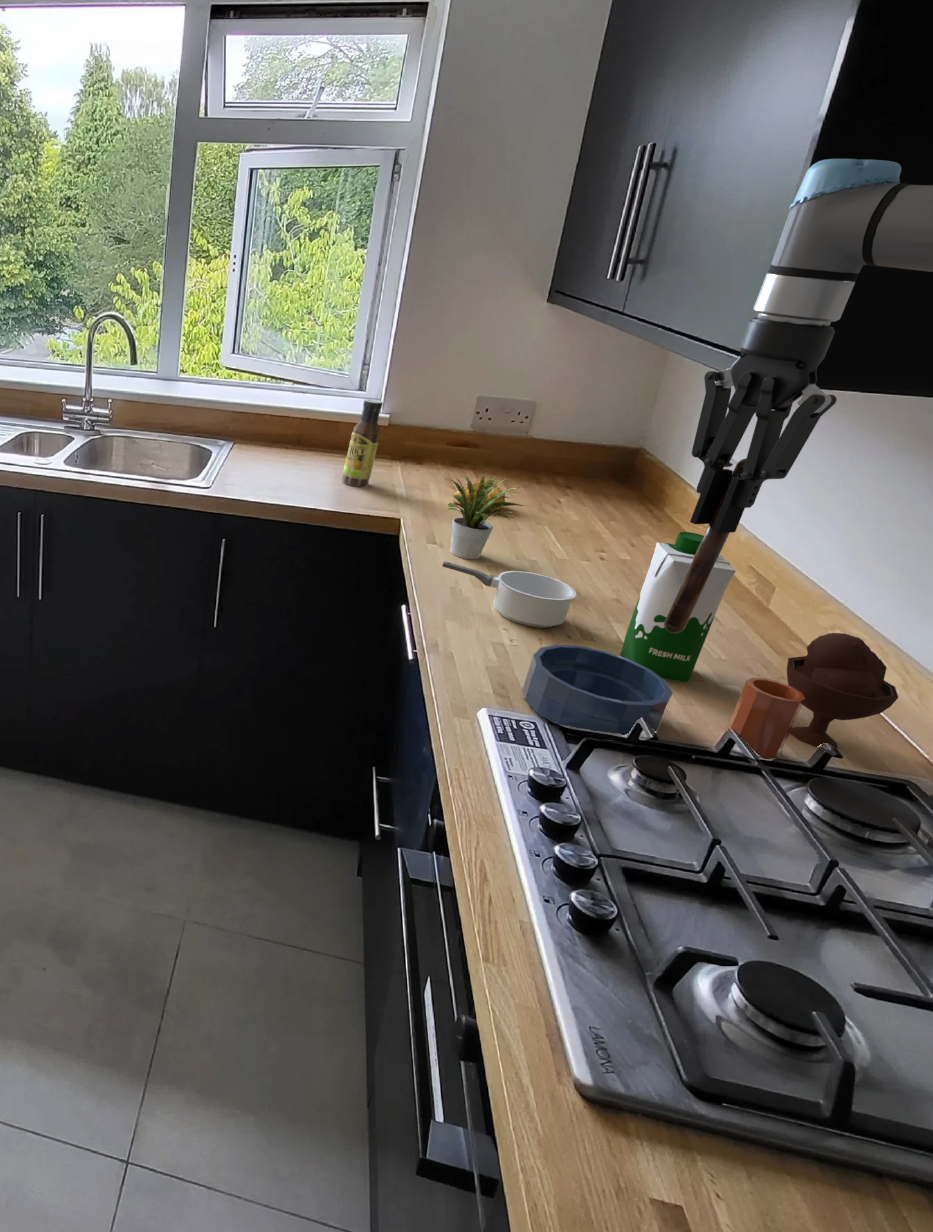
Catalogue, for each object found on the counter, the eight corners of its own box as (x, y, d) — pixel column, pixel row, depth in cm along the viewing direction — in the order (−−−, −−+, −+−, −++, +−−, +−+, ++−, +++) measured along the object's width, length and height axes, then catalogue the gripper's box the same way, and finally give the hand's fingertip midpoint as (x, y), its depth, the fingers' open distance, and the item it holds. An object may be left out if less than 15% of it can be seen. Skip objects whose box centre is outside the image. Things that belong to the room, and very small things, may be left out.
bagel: (444, 496, 206) (449, 476, 204) (492, 500, 206) (497, 480, 204) (460, 510, 197) (465, 489, 195) (510, 514, 196) (515, 493, 195)
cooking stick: (685, 637, 109) (767, 462, 100) (668, 635, 108) (750, 459, 100) (673, 629, 111) (753, 457, 102) (657, 627, 110) (735, 454, 102)
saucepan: (442, 582, 156) (450, 552, 154) (569, 614, 146) (579, 583, 144) (428, 603, 147) (436, 572, 144) (562, 638, 137) (573, 606, 135)
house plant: (448, 569, 162) (470, 483, 155) (407, 542, 174) (426, 461, 168) (516, 569, 165) (541, 484, 158) (471, 542, 177) (493, 462, 171)
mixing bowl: (684, 749, 110) (701, 707, 107) (563, 744, 109) (577, 702, 106) (607, 685, 124) (621, 647, 122) (500, 681, 123) (511, 642, 121)
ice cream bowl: (851, 776, 107) (906, 666, 101) (745, 731, 115) (790, 627, 109) (878, 751, 113) (931, 646, 107) (775, 710, 121) (819, 610, 115)
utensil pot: (786, 766, 108) (816, 702, 104) (743, 764, 107) (771, 700, 104) (752, 740, 113) (779, 678, 109) (710, 738, 112) (736, 676, 109)
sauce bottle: (335, 480, 212) (352, 397, 204) (355, 479, 214) (372, 396, 207) (354, 488, 206) (372, 403, 199) (374, 487, 209) (393, 402, 201)
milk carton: (676, 662, 132) (725, 536, 125) (696, 690, 124) (749, 558, 117) (611, 650, 135) (655, 526, 127) (627, 677, 127) (675, 546, 119)
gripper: (895, 332, 89) (800, 550, 99) (750, 311, 102) (678, 504, 112) (844, 330, 87) (751, 553, 96) (702, 308, 100) (632, 506, 109)
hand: (712, 526), depth 104 cm, fingers closed on cooking stick, 2 cm apart
